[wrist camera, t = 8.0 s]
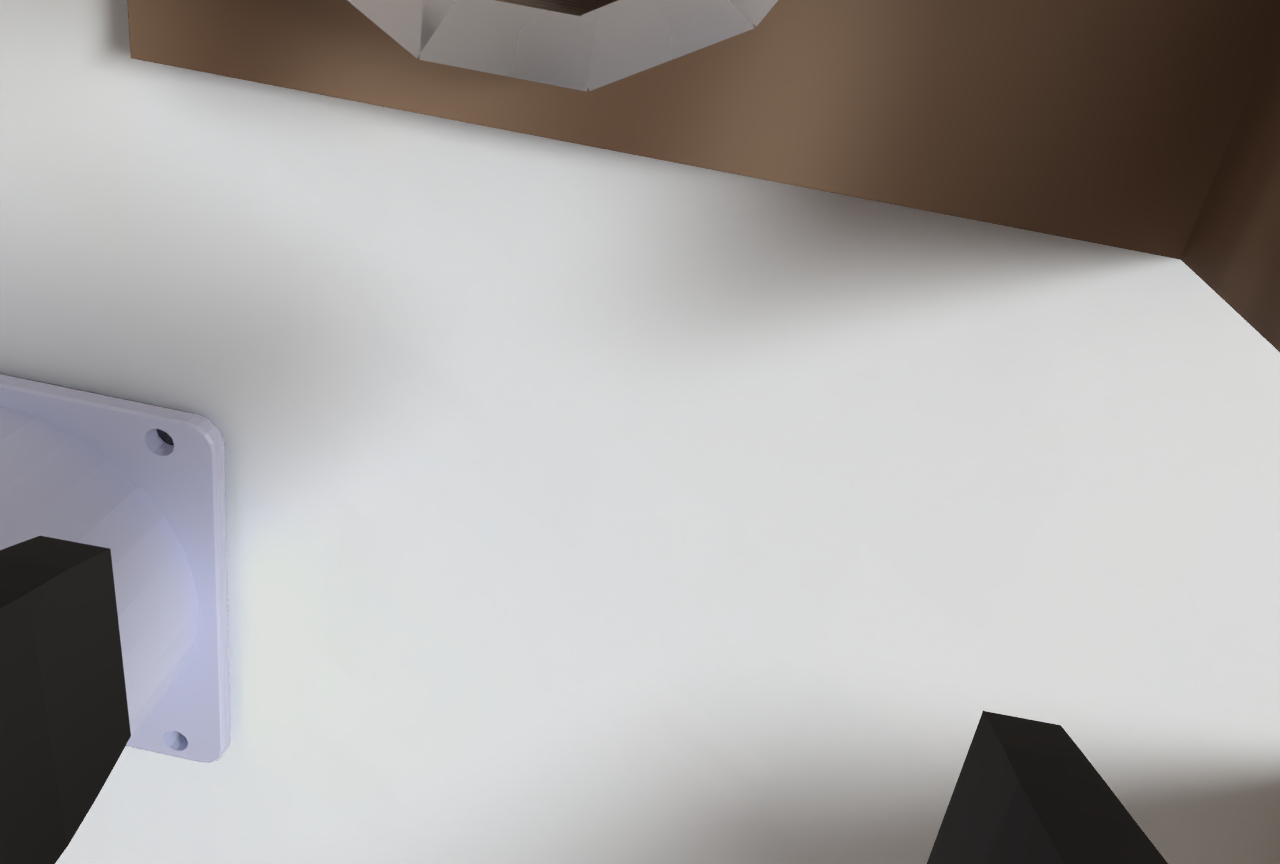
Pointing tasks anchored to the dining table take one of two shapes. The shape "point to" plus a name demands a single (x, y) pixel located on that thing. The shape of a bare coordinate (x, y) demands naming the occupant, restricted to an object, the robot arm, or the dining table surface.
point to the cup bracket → (838, 99)
